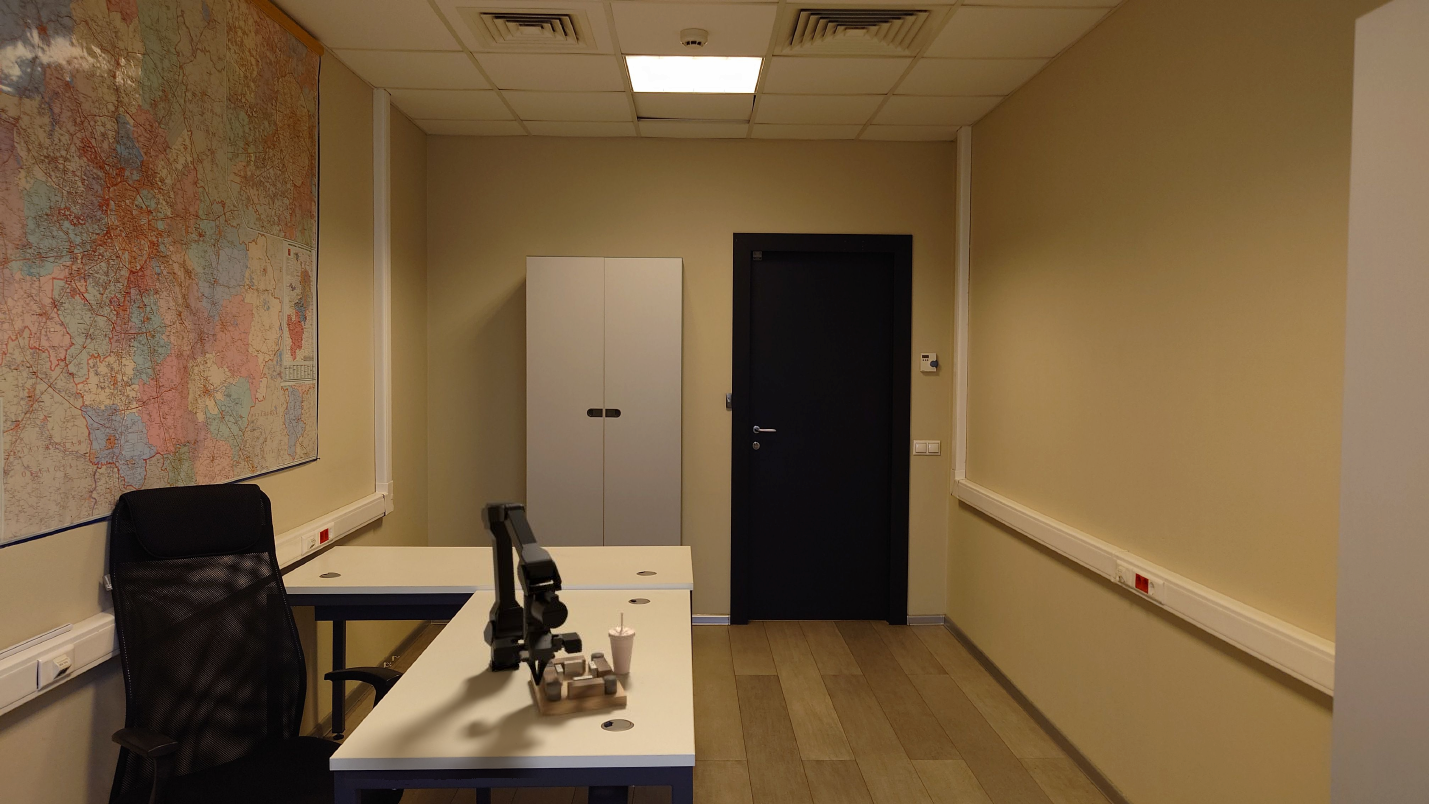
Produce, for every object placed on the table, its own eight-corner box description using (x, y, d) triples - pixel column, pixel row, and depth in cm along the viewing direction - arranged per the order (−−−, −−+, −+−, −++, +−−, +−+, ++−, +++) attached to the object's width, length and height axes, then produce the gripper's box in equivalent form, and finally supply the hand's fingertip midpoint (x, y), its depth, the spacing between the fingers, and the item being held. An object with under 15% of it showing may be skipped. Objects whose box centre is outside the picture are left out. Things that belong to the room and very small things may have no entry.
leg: (562, 699, 165) (562, 686, 165) (547, 701, 164) (547, 687, 164) (553, 675, 178) (553, 662, 178) (540, 677, 177) (540, 664, 177)
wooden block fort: (541, 716, 163) (541, 693, 162) (530, 679, 181) (530, 658, 181) (626, 704, 169) (626, 681, 168) (607, 669, 187) (607, 648, 187)
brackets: (561, 695, 168) (561, 681, 168) (554, 675, 178) (554, 662, 178) (601, 689, 171) (601, 676, 171) (591, 670, 181) (591, 658, 181)
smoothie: (636, 665, 190) (636, 608, 189) (634, 676, 183) (634, 617, 183) (609, 665, 190) (609, 608, 189) (606, 676, 183) (606, 617, 182)
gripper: (494, 632, 159) (495, 706, 160) (586, 622, 166) (586, 694, 167) (491, 614, 170) (491, 684, 171) (577, 606, 176) (577, 674, 177)
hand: (537, 685), depth 171 cm, fingers closed
